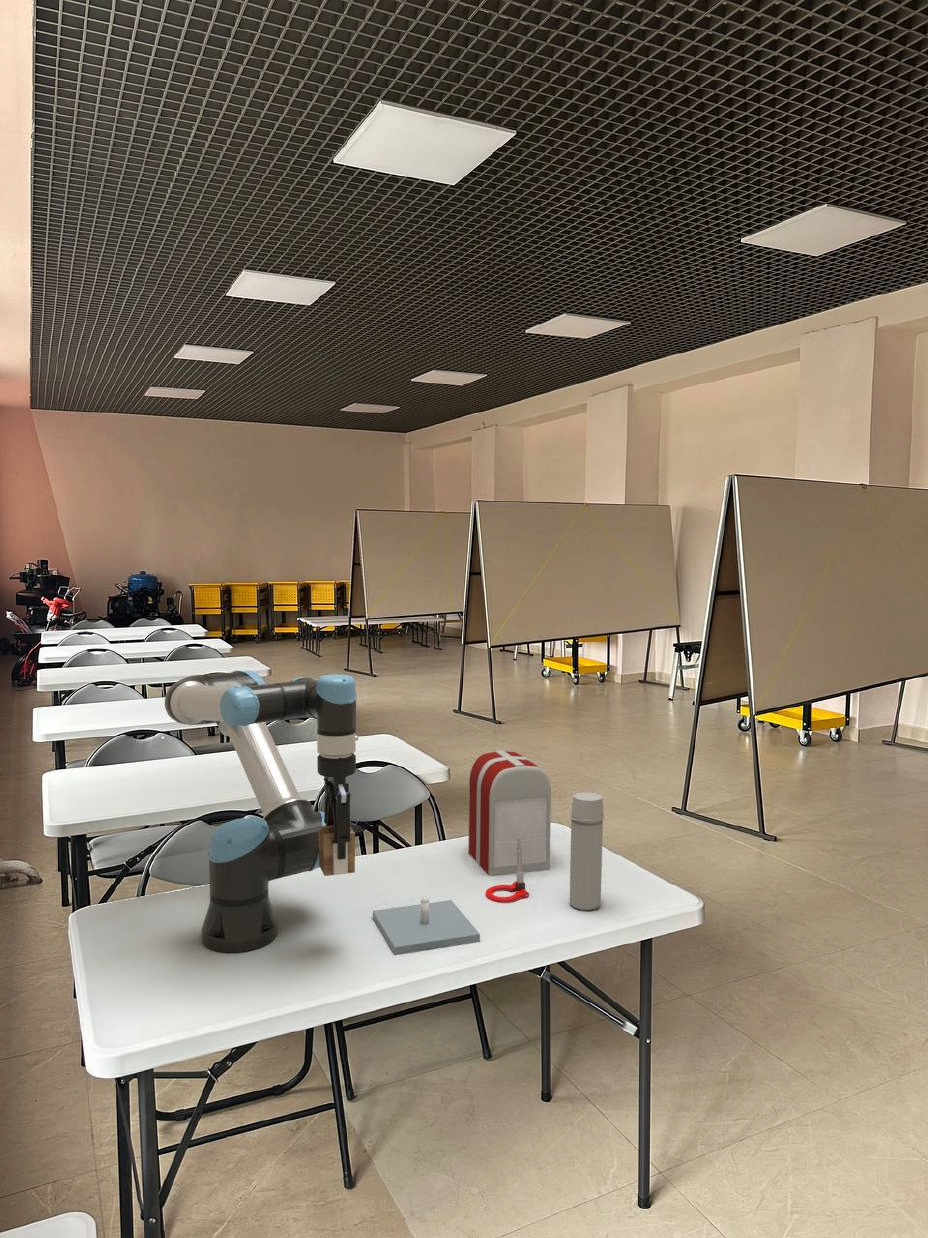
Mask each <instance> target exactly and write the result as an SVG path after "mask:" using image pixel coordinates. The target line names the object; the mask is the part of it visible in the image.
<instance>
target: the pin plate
mask: <svg viewBox="0 0 928 1238" xmlns="http://www.w3.org/2000/svg"><path fill="white" fill-rule="evenodd" d="M372 919H373V921H374V922H375V924H376V925H377V927H378V929H379V930H380V933H382V935H383V937H384V939H385V941H386V942H387V944H388V945H389V947H390V949H391V951H392V952H393V954H394V955H400V954H406V953H413V952H420V951H426V950H433V949H439V948H446V947H451V946H458V945H463V944H471V943H478V942H481V933H479V931H478V930H477V929H476V928H475V926H474V925H473V924H472V922H471V921H470V920H469V919H468V918H467V917H466V916H465V915H464V913H463V912H462V911H461V910H460V909H459V907H458V906H457V905H456V903H454V901H453V900H452V899H449V900H442V901H441V900H440V901H434V902H430V899H429V898H428V896H423V897H421V899H420V904H418V903H417V904H412V905H405V906H398V907H391V908H383V909H378V910H377V909H376V910H372Z"/></svg>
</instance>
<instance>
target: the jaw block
mask: <svg viewBox="0 0 928 1238" xmlns="http://www.w3.org/2000/svg"><path fill="white" fill-rule="evenodd" d="M350 838H351V840H350V842H348V874H353V873H356V833H355V831H354V829H353V828H352V827H351V826H350ZM334 839H335V837H334V825H329V826H319V866H320V867H319V868H320V870H321V871H322V874H323V876H324V877H328V876H329V877H330V876H335V875H334V874H333V844H331V841H332V840H334Z"/></svg>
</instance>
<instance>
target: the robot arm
mask: <svg viewBox="0 0 928 1238" xmlns="http://www.w3.org/2000/svg"><path fill="white" fill-rule="evenodd" d="M356 690H357V689H356V680H355V678H354V677H352V676H351V675H349V674H341V673H340V674H338V673H336V674H324V675H321V676H319V677H318V679H315V678H312V677H308V676H307V677H302V676H298V677H295V678H293V679H291V680H290V681H283V682H274V683H266V682H265V680H264V679H263V678H262V677H261V676H260V675H259V674H258V673H257V672H255V671H252V670H234V671H232V672H220V673H207V674H195V675H189V676H187V677H184V678H181V679H179V680H177V681H176V682H175V683H173V684H172V685H171V686H170V687H169V688H168V690H167V692H166V694H165V697H164V708H165V711H166V713H167V715H168V716H169V717H170V718H171V719H172V720H173V721H175V722H176V723H179V724H182V725H188V726H198V725H200V726H201V725H209V724H216V725H217V727H218V730H219V731H220V733H221V734H222V735H224V736H226V737H229V738H230V741H231V742H232V745H233V747H234V750H235V752H236V754H237V756H238V759H239V761H240V763H241V766H242V769H243V770H244V773H245V775H246V777H247V780H248V782H249V783H250V786H251V787H250V788H251V789H252V792H253V795H254V796H255V798H256V800H257V802H258V805H259V807H260V810H261V811H262V814H263V817H262V818H261V817H248V818H246V817H243V818H236V819H233V820H230V821H227V822H225V823H223V824H220V825H219V826H218V827H216V828H215V829H214V831H213V832H211V835H210V837H209V843H208V844H209V846H208V848H209V849H208V852H207V855H208V856H207V857H208V864H209V865H208V867H209V871H208V873H209V904H208V908H207V911H206V913H205V917H204V921H203V924H202V927H201V942H202V945H204V947H206V948H207V949H210V950H211V951H215V952H220V953H243V952H248V951H253V950H257V949H259V948H262V947H264V946H266V945H268V944H270V943H272V942H273V941H274V940H275V939H276V937H277V936H278V920H277V917H276V914H275V911H274V908H273V905H272V903H271V900H270V897H269V882H272V881H274V880H278V879H283V878H286V877H289V876H290V877H291V876H294V875H298V874H302V873H305V872H312V871H314V870H316V869H319V868H320V866H319V826H329V825H334V837H335V839H334V840H332V841H331V844H333V874H334V875H333V876H337V875H346V874H349V873H348V842H350V840H351V838H350V827H351V805H350V804H351V791H350V789H349V783H347V781H346V778H348V777H349V776H352V775H354V774H355V773H356V771H357V770H356V768H357V756H356V754H355V752H356V751H357V750H356V746H357V745H356V741H359V736H358V735H357V734H356V727H357V693H356ZM301 718H312V719H315V720H317V721H316V724H317V725H316V726H317V729H316V731H317V732H316V752H317V753H318V756H317V760H316V761H317V774H318V775H319V776H321V777H323V783H324V811H321V810H319V811H315V809H314V807H313V805H312V804H311V801H309V800H308V799H306V798H301V796H300V794H299V792H298V790H297V788H296V786H295V783H294V781H293V778H292V776H291V775H290V773H289V771H288V769H287V766H286V764H285V762H284V760H283V758H282V756H281V753H280V750H279V749H278V747H277V746H276V742H275V740H274V739H273V736H272V734H271V732H270V730H269V728H268V726H267V723H271V722H278V721H286V720H295V719H301Z"/></svg>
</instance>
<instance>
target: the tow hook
mask: <svg viewBox="0 0 928 1238" xmlns="http://www.w3.org/2000/svg"><path fill="white" fill-rule="evenodd" d="M517 847H518V848H517V872H516V874H515V875H516V881H514V882H513V883H512V884H497V885H493V886H491V887H488V888H487V889H486V890H485V897H486V898H487V900H490V901H491V902H495V903H503V904H505V903H513V902H515V901H518V900H520V899H521V898H525V899H527V898H529V897H530V892H528V891H527V890H526V883H525V880H524V879H525V877H524V875H525V874H524V872H523V871H522V848H521V840H520V839H518V840H517ZM499 891H510V892H513V891H515V893H514V894H512V895H509V896H498V895H495V894H494V893H496V892H499Z"/></svg>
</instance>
